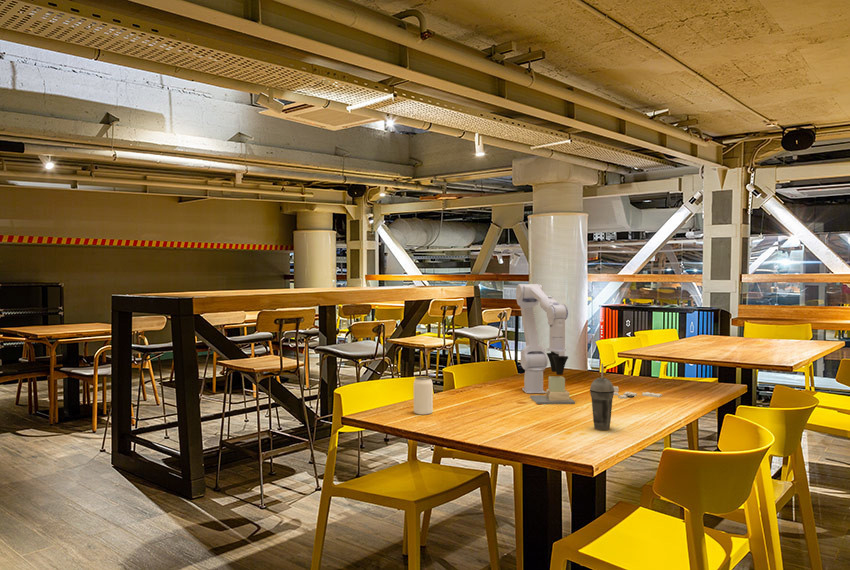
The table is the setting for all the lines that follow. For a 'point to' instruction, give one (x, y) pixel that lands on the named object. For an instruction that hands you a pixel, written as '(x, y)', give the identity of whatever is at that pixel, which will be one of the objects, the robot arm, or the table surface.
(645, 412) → the table surface
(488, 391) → the table surface
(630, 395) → the architectural model
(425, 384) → the can
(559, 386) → the sage block
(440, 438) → the table surface
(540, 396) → the gray board
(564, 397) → the birch plinth
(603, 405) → the beverage cup
